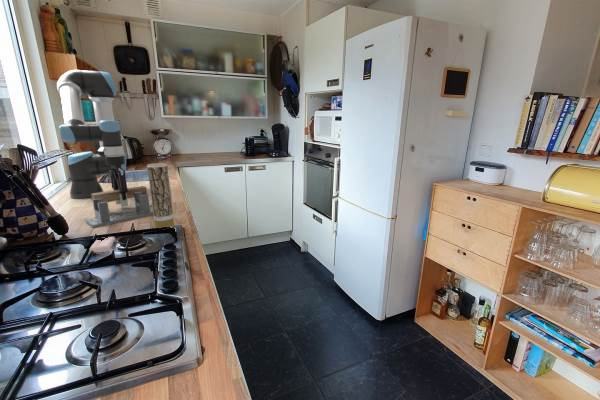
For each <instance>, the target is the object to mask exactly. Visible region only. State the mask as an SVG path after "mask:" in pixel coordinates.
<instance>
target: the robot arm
mask: <svg viewBox="0 0 600 400" xmlns="http://www.w3.org/2000/svg"><path fill="white" fill-rule="evenodd" d="M56 88H57V92H58V94H59V95H60V98H61V105H62V114H63V115H62V116H63V122H64V124H61V125H59V127H58V128H59V134H60V135H59V136H60V138H61V141H62V142H64V143H87V142H88V143H89V142H90V143H91V142H98V143H99V148H98V149H97V153H94V152H93V151H82V152H77V153H73V154H70V155H68V156H67V166H68V169H69V175H70V179H71V180H70V181H71V187H70V192H69V196H70V198H71V199H90V198H92V196H91V194H93V193H100V192H104V189H103V187H102V185H101V184H100V182H99V180H98V176H105V175H109V176H110V184H111V189H112V191H113V190H119V191H120V192H119V193H118V194H119V195H120V200H117V201H115V205H120V207H121V208H125V207H129V203H128V201H129V200H128V199H127V195H126V192H128V189H127V188H128V184H127V177H126V170H127V158H126V157H127V154H126V152H124V146H123V142H122V141H123V140H122V132H121V129H122V128H121V125H120V122H119V121H118V120H115V117H114V109H113V104H112V102H113V101H114V100H115V97H116V96H117V89H116V88H117V87H116V84H115V81H114V78H113V76H112V74H111V73H109V72H106V71H99V70H96V71H95V70H81V69H73V70H72V69H71V70H68V71H67V72H65V73H64V74H62V75H61V76H60V77H59V79H58V80H57V82H56ZM82 95H87V96H88V97H87V98H88V99H89V100H90V101H91V102H92V106H93V107H92V108H93V111H94V117H95V123H96V124H86V122H85V117H84V111H83V106H82V100H81V96H82Z"/></svg>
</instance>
